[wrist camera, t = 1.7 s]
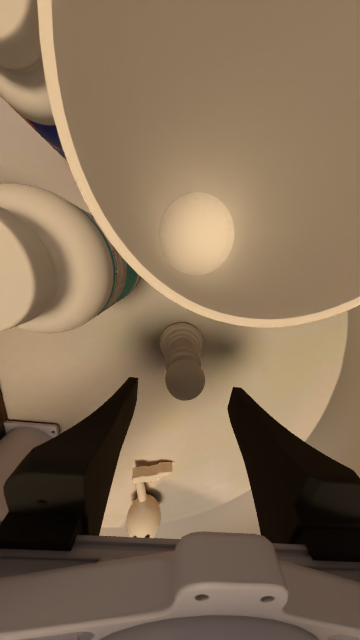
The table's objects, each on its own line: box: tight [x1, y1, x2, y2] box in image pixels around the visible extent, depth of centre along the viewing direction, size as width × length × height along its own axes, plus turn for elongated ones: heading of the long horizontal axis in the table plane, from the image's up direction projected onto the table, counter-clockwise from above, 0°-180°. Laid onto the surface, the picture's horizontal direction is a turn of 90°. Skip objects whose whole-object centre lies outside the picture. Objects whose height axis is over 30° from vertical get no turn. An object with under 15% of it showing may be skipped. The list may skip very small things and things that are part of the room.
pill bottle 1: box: [0, 0, 67, 160], centre depth 11 cm, size 5×5×10 cm
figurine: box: [126, 462, 173, 538], centre depth 27 cm, size 8×6×12 cm
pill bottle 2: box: [0, 183, 140, 333], centre depth 12 cm, size 8×7×14 cm
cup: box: [37, 0, 360, 327], centre depth 10 cm, size 8×8×16 cm
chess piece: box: [159, 323, 205, 400], centre depth 17 cm, size 5×5×9 cm
